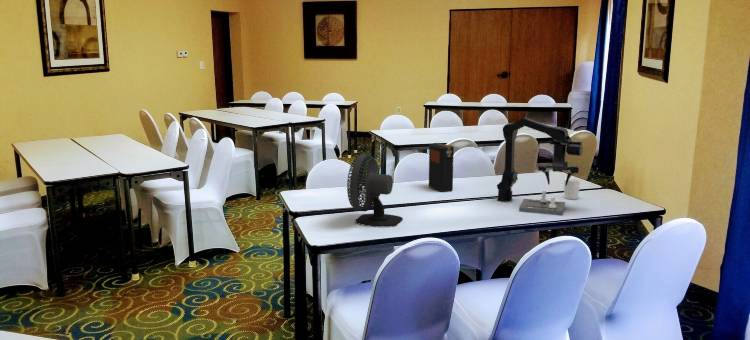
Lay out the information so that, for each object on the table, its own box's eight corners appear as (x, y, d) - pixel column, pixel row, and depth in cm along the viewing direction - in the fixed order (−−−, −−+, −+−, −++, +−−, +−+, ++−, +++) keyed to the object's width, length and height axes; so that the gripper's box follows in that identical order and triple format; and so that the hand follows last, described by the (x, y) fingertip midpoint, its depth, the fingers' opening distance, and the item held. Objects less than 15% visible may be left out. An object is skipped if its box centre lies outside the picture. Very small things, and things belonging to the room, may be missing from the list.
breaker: (548, 207, 286) (549, 197, 285) (549, 206, 289) (550, 195, 288) (555, 208, 285) (556, 198, 284) (555, 206, 288) (556, 196, 287)
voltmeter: (454, 191, 329) (455, 146, 324) (441, 192, 326) (441, 147, 321) (439, 185, 343) (440, 142, 338) (426, 186, 340) (427, 143, 335)
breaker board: (519, 211, 289) (519, 207, 288) (523, 202, 305) (523, 198, 305) (562, 215, 282) (562, 210, 281) (564, 205, 298) (565, 201, 298)
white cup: (579, 200, 310) (581, 181, 308) (563, 199, 311) (565, 180, 309) (577, 196, 317) (579, 178, 315) (562, 195, 319) (563, 177, 317)
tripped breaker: (540, 202, 297) (540, 192, 296) (540, 200, 300) (541, 190, 299) (546, 202, 295) (546, 192, 294) (547, 200, 299) (547, 191, 298)
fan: (379, 209, 292) (379, 149, 286) (411, 223, 270) (412, 157, 264) (332, 218, 278) (331, 154, 272) (362, 232, 256) (361, 163, 250)
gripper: (538, 155, 287) (536, 187, 290) (579, 158, 281) (577, 190, 284) (540, 151, 297) (538, 182, 300) (579, 154, 291) (577, 185, 294)
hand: (557, 185), depth 294 cm, fingers open, 8 cm apart
